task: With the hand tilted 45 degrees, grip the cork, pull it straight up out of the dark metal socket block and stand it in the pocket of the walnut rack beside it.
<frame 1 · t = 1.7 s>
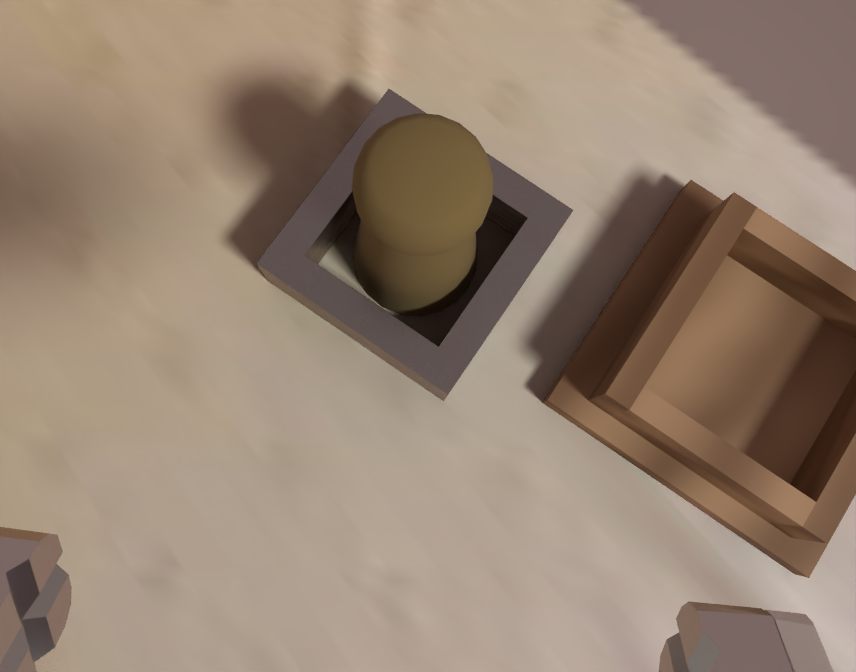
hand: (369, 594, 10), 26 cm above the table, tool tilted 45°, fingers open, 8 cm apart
cork: (415, 256, 38), resting in socket block
socket block: (415, 254, 38), on the table
walnut rack: (736, 373, 37), on the table
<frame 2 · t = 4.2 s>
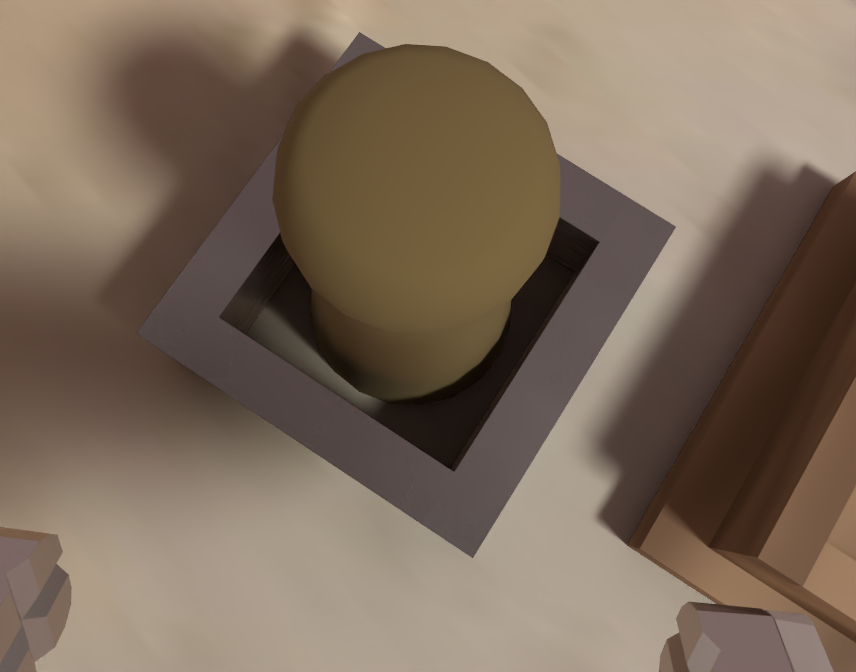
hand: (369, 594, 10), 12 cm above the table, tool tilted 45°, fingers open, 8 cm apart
cork: (411, 306, 23), resting in socket block
socket block: (411, 304, 23), on the table
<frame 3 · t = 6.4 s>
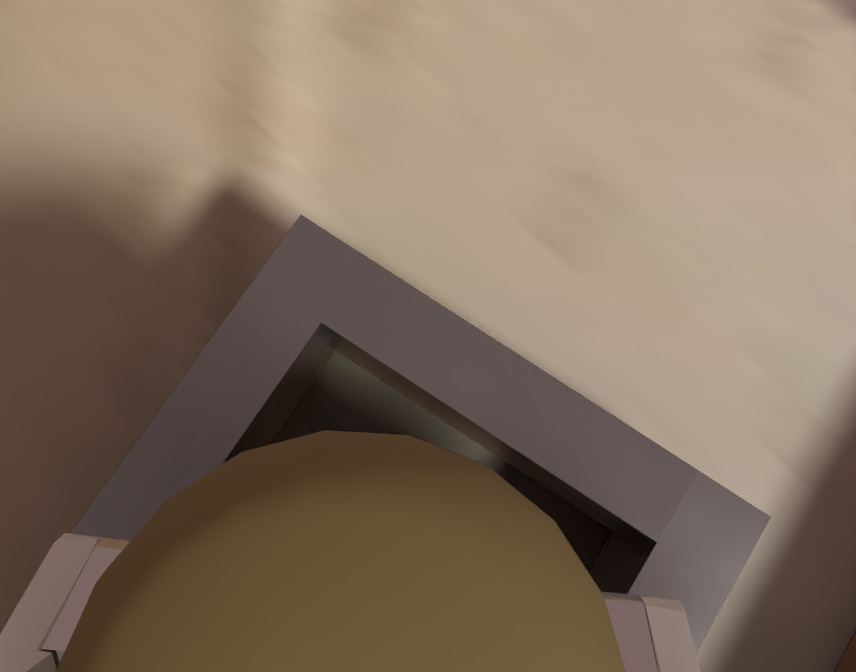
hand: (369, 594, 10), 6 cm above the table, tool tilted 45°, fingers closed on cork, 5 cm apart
cork: (380, 582, 17), resting in socket block, touching gripper
socket block: (379, 583, 16), on the table
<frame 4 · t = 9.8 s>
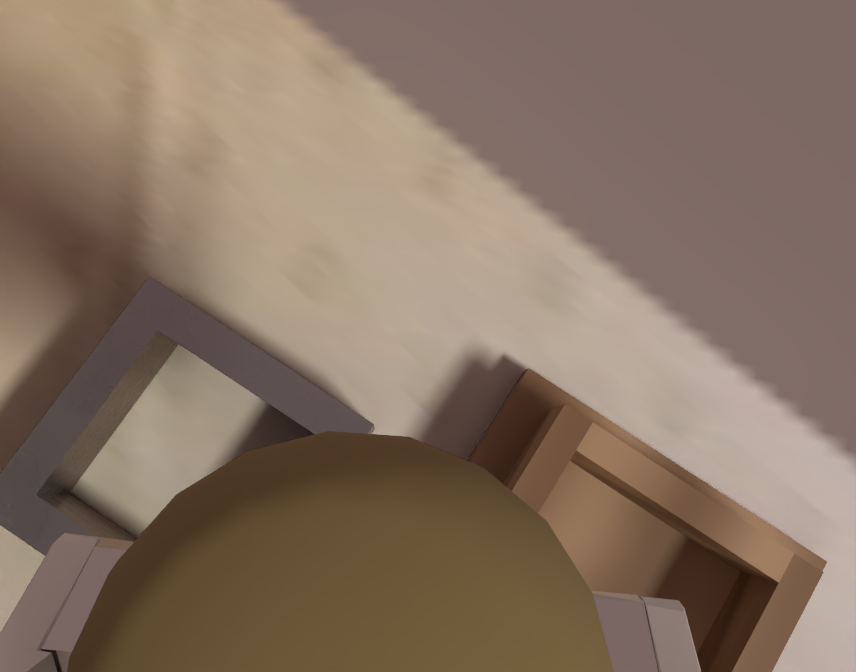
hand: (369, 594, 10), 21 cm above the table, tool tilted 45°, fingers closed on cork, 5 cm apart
cork: (377, 580, 17), point 15 cm above the table, touching gripper
socket block: (198, 465, 31), on the table
walnut rack: (586, 602, 31), on the table
when the fingers open (9 cm above the table, at t = 13.0 s): cork drops 1 cm, resting on walnut rack.
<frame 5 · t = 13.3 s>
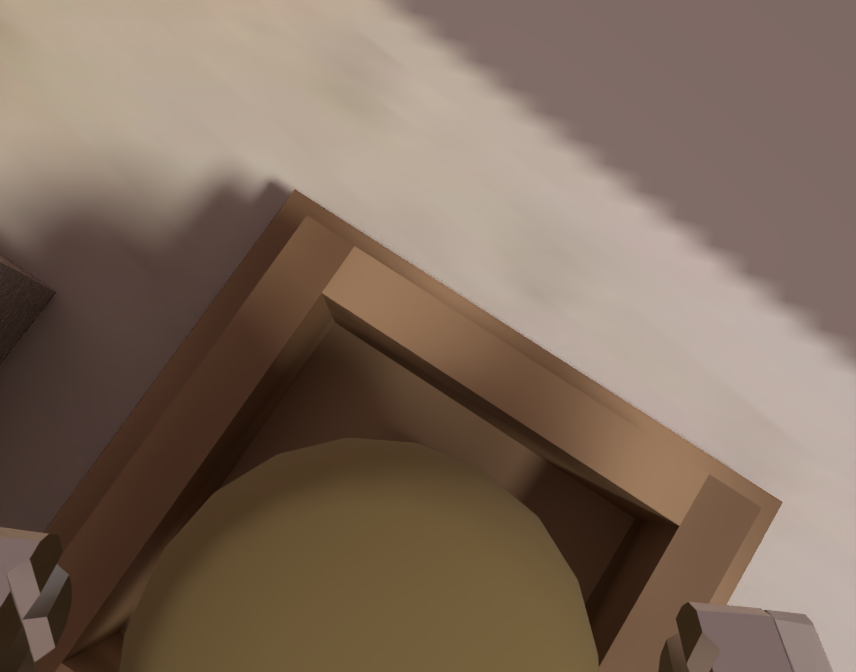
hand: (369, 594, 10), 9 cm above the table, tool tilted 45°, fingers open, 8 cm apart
cork: (384, 574, 18), point 1 cm above the table, touching walnut rack
walnut rack: (384, 568, 19), on the table
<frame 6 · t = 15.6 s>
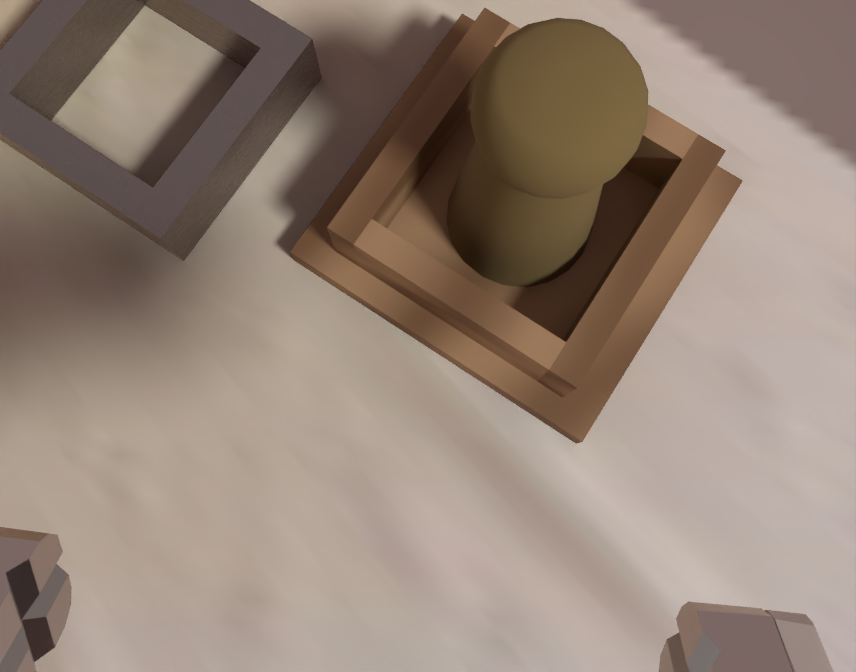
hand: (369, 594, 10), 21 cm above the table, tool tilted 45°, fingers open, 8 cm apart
cork: (518, 218, 32), point 1 cm above the table, touching walnut rack
socket block: (160, 106, 34), on the table
walnut rack: (515, 225, 33), on the table
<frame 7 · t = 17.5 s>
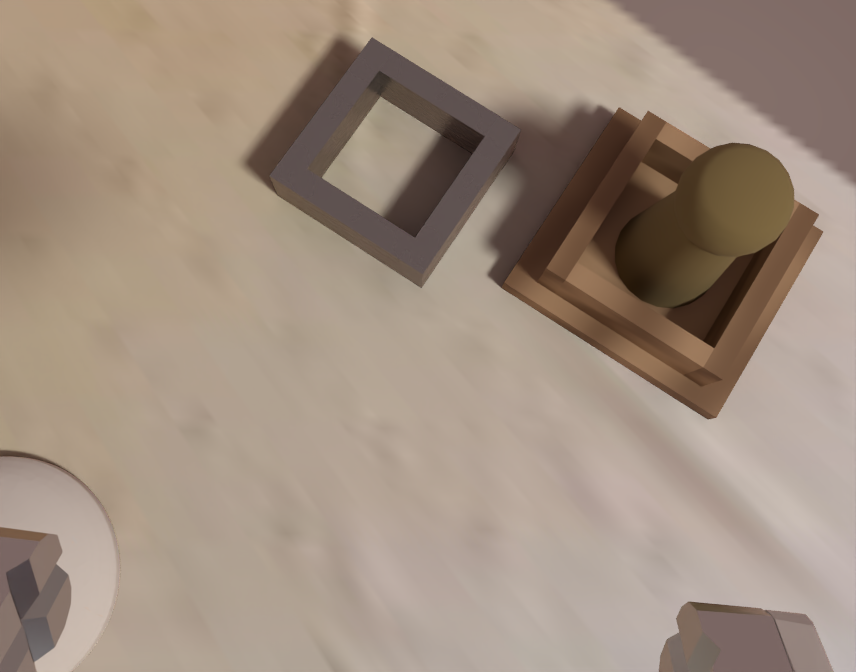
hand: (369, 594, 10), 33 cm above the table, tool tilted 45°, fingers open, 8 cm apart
cork: (665, 258, 45), point 1 cm above the table, touching walnut rack
socket block: (397, 173, 47), on the table
walnut rack: (659, 262, 46), on the table
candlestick: (1, 576, 42), on the table
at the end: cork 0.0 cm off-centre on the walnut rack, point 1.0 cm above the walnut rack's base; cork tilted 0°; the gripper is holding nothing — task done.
